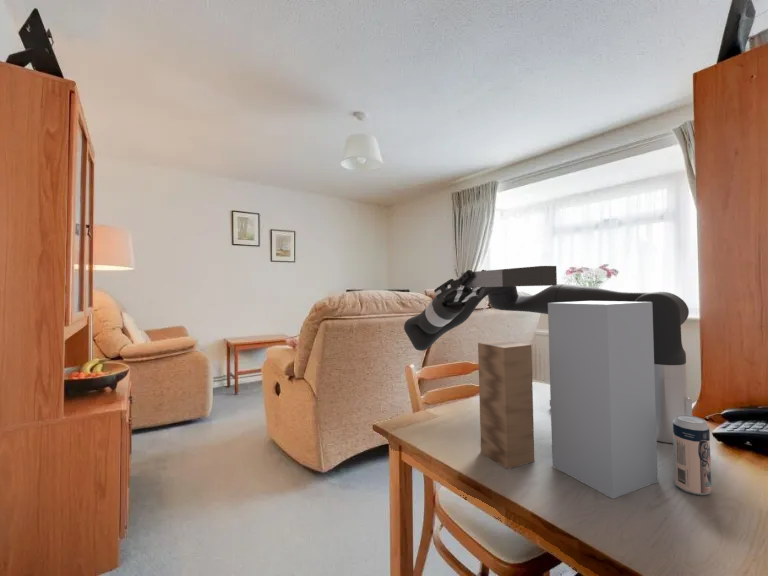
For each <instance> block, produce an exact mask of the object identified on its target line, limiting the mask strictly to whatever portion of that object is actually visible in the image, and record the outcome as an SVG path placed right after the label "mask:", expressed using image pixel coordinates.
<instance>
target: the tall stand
mask: <svg viewBox="0 0 768 576" xmlns="http://www.w3.org/2000/svg"><path fill="white" fill-rule="evenodd" d="M547 321H548V322H547V326H548V352H549V353H548V357H549V358H548V360H549V362H548V363H549V391H550V392H549V393H550V399H551V406H550V424H551V425H550V427H551V459H552V460H551V461H552V462H551V463H552V467H553V468H555V469H556V470H559V471H560V472H562V473H564V474H565V475H568V476H569V477H571V478H574V479H576V480H577V481H579V482H581V483H583V484H584V485H587V486H588V487H590V488H592V489H594V490H596V491H598V492H600V493H601V494H603V495H605V496H607V497H609V498H611V499H613V500H614V499H616V498H618V497H621V496H624V495H627V494H630V493H632V492H634V491H637V490H640V489H643V488H645V487H648V486H650V485H653V484H656V483H658V481H659V479H658V446H657V442H658V441H657V440H656V408H655V375H654V342H653V309H652V302H627V301H577V302H557V303H548V314H547Z"/></svg>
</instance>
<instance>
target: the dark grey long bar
mask: <svg viewBox="0 0 768 576" xmlns="http://www.w3.org/2000/svg"><path fill="white" fill-rule="evenodd" d="M465 272H466V271H465ZM465 272H460V273H461V274H460V276H459V275H458V278H459V277H461V276H462V275H463V274H464V273H465ZM473 275H474V278H473V279H472V280H471V281H470V282H469V283H468V284H467V285H464V287H507V286H516V287H541V286H542V287H546V286H549V287H550V286H553V285H557V284H558V281H557V280H558V279H557V278H558V276H557V265H538V266H525V267H512V268H504V269H503V268H501V269H488V270H486V271H482V270H478V271H477V270H476V271H473Z"/></svg>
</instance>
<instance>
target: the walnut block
mask: <svg viewBox="0 0 768 576" xmlns="http://www.w3.org/2000/svg"><path fill="white" fill-rule="evenodd" d="M532 352H533V351H532V344H528V343H523V342H517V341H516V342H515V341H510V340H505V339H502V340H501V339H500V340H492V341H490V340H489V341H481V342H478V343H477V354H478V355H477V356H478V357H477V358H478V387H479V389H478V391H479V392H478V395H479V396H478V397H479V427H480V429H479V430H480V453H481V454H483V455H485V456H486V457H488V458H489V459H492V460H493V461H494V462H496V463H498V464H499V465H500V466H502V467H504V468H505V469H507V470H509V469H513V468H516V467H520V466H522V465H525V464H530V463H533V462H535V461H536V460H535V459H536V458H535V430H534V429H535V425H534V424H535V423H534V399H533V397H534V396H533V393H534V392H533V359H532V358H533V357H532V355H533V353H532Z"/></svg>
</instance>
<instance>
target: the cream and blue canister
mask: <svg viewBox="0 0 768 576" xmlns="http://www.w3.org/2000/svg"><path fill="white" fill-rule="evenodd" d="M710 431H711V430H710V426H709V425H708V423H707V422H706V420H705V418H704V419H703V418H701V417H698V416H695V415H692V416H690V415H677V416H676V417H675V418H674V420H673V443H672V445H673V469H674V471H673V472H674V474H673V475H674V484H675V485H676V486H677V487H678V488H680V489H681V490H682V491H684V492H686V493H689V494H691V493H692V494H693V495H696V494H697V495H698V496H705V495H709V494H711V493H712V471H711V470H712V469H711V466H712V465H711V435H710ZM699 494H700V495H699ZM697 495H696V496H697Z"/></svg>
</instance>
